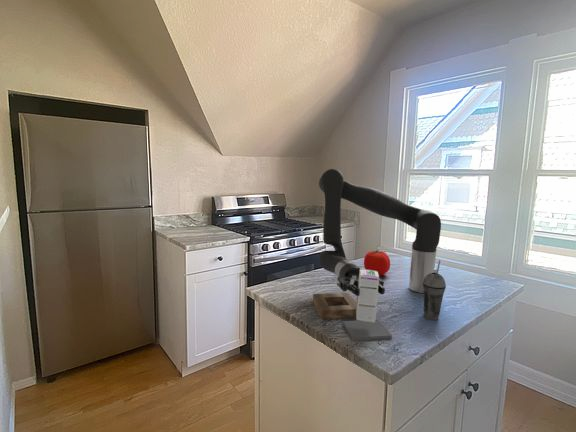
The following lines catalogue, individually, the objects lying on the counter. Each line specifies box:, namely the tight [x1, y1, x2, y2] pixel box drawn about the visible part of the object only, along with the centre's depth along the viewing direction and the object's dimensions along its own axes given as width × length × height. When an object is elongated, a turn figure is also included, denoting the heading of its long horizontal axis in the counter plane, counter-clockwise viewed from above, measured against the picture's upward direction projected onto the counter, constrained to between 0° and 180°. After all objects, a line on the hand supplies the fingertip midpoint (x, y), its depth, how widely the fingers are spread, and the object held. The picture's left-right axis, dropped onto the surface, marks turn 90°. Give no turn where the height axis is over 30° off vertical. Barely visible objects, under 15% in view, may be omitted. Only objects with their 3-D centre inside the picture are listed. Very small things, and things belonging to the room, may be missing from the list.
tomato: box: [363, 249, 391, 277], centre depth 151 cm, size 12×13×12 cm
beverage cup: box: [423, 260, 447, 321], centre depth 108 cm, size 7×7×20 cm
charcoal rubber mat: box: [342, 319, 393, 342], centre depth 99 cm, size 12×10×1 cm
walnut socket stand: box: [312, 292, 357, 320], centre depth 113 cm, size 14×14×3 cm
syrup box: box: [355, 268, 380, 323], centre depth 97 cm, size 6×6×14 cm
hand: (370, 292), depth 95 cm, fingers closed on syrup box, 7 cm apart
